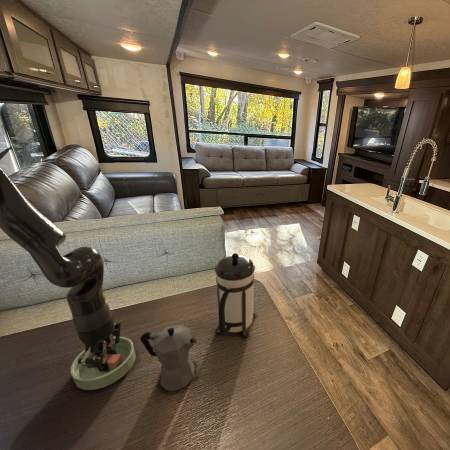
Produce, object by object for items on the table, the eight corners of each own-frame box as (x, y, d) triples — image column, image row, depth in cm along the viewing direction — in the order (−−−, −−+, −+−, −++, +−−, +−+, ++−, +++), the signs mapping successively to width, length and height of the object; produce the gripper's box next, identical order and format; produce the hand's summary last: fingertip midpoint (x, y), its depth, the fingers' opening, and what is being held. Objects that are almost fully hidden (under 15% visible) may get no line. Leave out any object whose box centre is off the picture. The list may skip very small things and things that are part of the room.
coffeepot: (207, 364, 76) (203, 318, 69) (192, 395, 67) (186, 347, 60) (158, 358, 76) (149, 312, 69) (137, 388, 67) (125, 339, 60)
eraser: (94, 369, 70) (92, 362, 69) (101, 361, 73) (99, 353, 72) (116, 370, 71) (114, 362, 70) (122, 361, 73) (120, 354, 72)
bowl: (60, 391, 65) (55, 380, 63) (99, 346, 78) (95, 335, 76) (116, 392, 66) (113, 381, 64) (145, 347, 79) (143, 337, 77)
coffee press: (207, 319, 92) (201, 248, 81) (247, 305, 101) (247, 239, 89) (221, 354, 79) (217, 276, 68) (266, 335, 88) (269, 263, 76)
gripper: (98, 301, 71) (111, 344, 78) (55, 341, 58) (76, 389, 65) (124, 301, 72) (136, 345, 78) (88, 341, 59) (105, 389, 65)
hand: (108, 364), depth 72 cm, fingers closed on eraser, 3 cm apart
